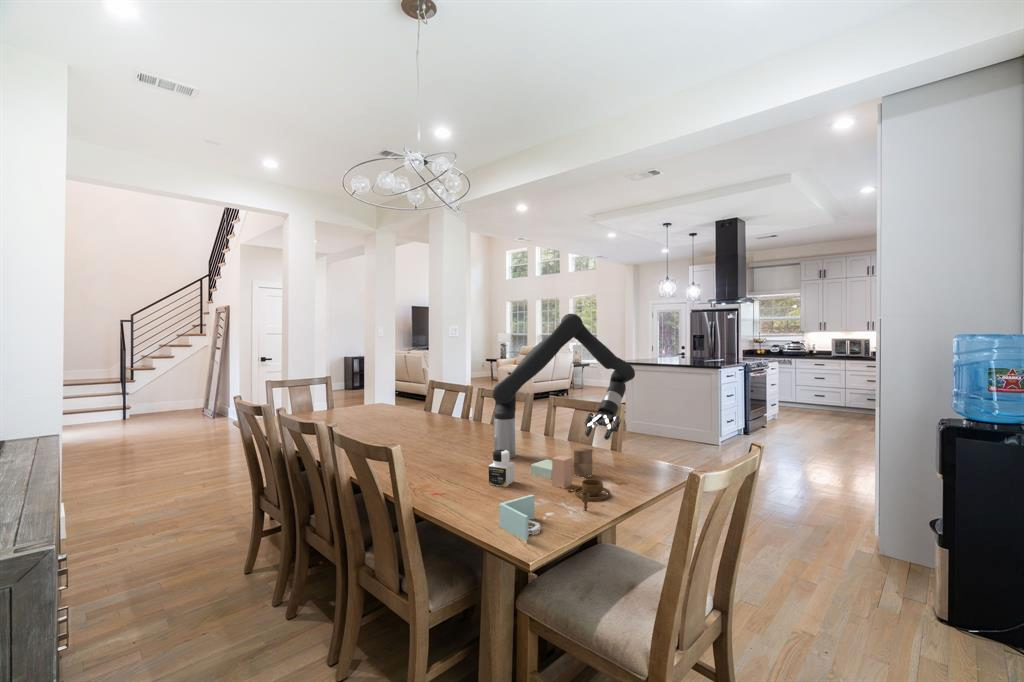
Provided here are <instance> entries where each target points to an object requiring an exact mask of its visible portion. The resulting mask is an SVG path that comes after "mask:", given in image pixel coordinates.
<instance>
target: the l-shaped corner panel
mask: <svg viewBox="0 0 1024 682" xmlns="http://www.w3.org/2000/svg"><path fill="white" fill-rule="evenodd" d="M535 505H536V504H535V494H528V495H526V496H522V497H518V498H515V499H511V500H507V501H504V502H501V503H499V509H498V511H499V512H498V513H499V514H498V515H499V519H498V520H499V528H500V527H502V528H503V529H505V530H507V531H508V532H510V533H512V534H514V535H516V536H518V537H519V538H521V539H523V540H525V541H527V540H528V541H529V535H528V534H529V533H531V534H535V533H537V532H539V531H541V529H542V526H541V524H540V523H539V522H536V521H533V519H532V518H535V519H536V517H535V515H536V513H535V512H536V511H535ZM529 519H532V520H529ZM528 526H532V527H533V528H528ZM539 533H540V532H539ZM535 535H536V534H535Z"/></svg>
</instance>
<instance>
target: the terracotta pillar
mask: <svg viewBox="0 0 1024 682" xmlns="http://www.w3.org/2000/svg"><path fill="white" fill-rule="evenodd" d="M572 459H573V458H572V457H570V456H565V455H561V454H560V455H557V456H554V457H552V459H551V460H552V479H551V480H552V487H555V486H557V487H556V488H559V487H561V488H560V489H563V488H565V489H566V487H567V488H569V487H571V486H572V485H573V474H572V473H573V469H572V468H573V467H572V466H573V465H572V462H573V460H572ZM570 485H571V486H570ZM568 486H569V487H568Z"/></svg>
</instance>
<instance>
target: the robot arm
mask: <svg viewBox="0 0 1024 682" xmlns="http://www.w3.org/2000/svg"><path fill="white" fill-rule="evenodd" d="M583 322H584V321H583V320H582V317H580V316H579V315H577V314H575V313H568V314H565V315H564V316H563V317H562V318H561V321H560V323H559V324H558V325H557V327H556V328H555V329H554V331H552V332H551V334H550V335H548V336H547V337H546V338H545V339H543V340H541V341H540V342H538V343H537V344H536V345H535V346H534V347H533V348H532V349H530V351H529V352H527V354H526V355H525V356H524V357H523V358H522V359H521V360H520V362H519V363H518V364H517V366H516V367H515V368H514V369H513V370H512V372H510V374H508V375H507V376H506V377H505V378H504V379H502V381H500V382H499V383H497V384H496V385H495V386H494V388H493V389H492V398H493V400H494V402H495V403H494V405H495V408H494V413H493V420H494V423H493V424H494V429H493V430H494V435H493V436H494V437H493V438H494V439H493V443H494V444H493V446H494V447H493V449H494V451H496V450H507V451H509V459H513V457H514V458H515V457H516V454H517V453H516V451H517V450H516V410H517V409H516V407H517V406H516V404H517V401H516V400H517V398H516V397H517V396H516V395H517V392H518V391H519V390H521V388H522V387H523V386H524V385H525V384H526V383H527V382H528V381H530V380H531V379H532V378H534V377H535V376H536V375H537V374H539V373H540V372H541V371H543V369H544V368H545V367H546V366H547V365H548V364H549V363H550V362H551V361H552V360H553V359H554V358H555V357H556V355H557V354H558V353H559V352H560V350H561V349H562V348H563V347H564V346H565V345H566V344H567V343H568V342H570V341H572V339H573V338H574V339H575V340H576V341H577V342H579V343H580V344H581V345H582V346H583V347H584V348H585V349H586V350H587V351H588V352H589V354H590V355H591V356H592V357H593V358H594V359H595V360H596V361H597V362H598V363H599V364H600V365H601V366H602V367H603V368H605V369H607V370H613V371H612V373H611V375H610V379H609V380H610V381H609V385H608V387H607V390H606V393H605V394H604V396H603V398H602V400H601V402H600V404H599V407H598V408H597V411H596V413H595V414H594V413H593V412H589V414H588V416H587V417H586V419H585V421H584V425H585V427H586V430H585V432H584V433H585V435H586V437H588V438H589V437H590V435H591V433H592V431H593V429H594V428H597V427H598V426H599V427H601V426H602V427H607V429H606V431H605V434H604V435H603V437H604V440H606V441H607V440H609V439H610V438H611V435H612V433H613V432H618V431H619V428H620V425H621V422H622V419H621V417H620V415H617V414H618V412H619V409H620V406H621V404H622V400H623V398H624V395H625V393H626V386H625V384H626V383H627V382H629V381H631V380H633V379H634V378H635V376H636V371H635V369H634V368H633V366H632V365H631V364H629V362H627V361H625V360H623V359H622V358H620V357H617V356H616V354H614V352H612V351H611V350H610V348H609V347H608V346H606V345H605V344H603V343H602V342H601V341H600V340H599V339H598V338H597V337H595V335H593V334H592V333H591V332H590V331H589V330H588V328H587V327H586V326H585V324H584V323H583ZM612 423H613V425H612ZM494 451H493V452H494Z"/></svg>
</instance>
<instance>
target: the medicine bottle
mask: <svg viewBox="0 0 1024 682" xmlns="http://www.w3.org/2000/svg"><path fill="white" fill-rule="evenodd" d="M510 459H511V458H509V451H507V450H496V451H493V452H492V463H490V464H489V465H488V485H490V486H495V485H496V486H497V487H502V486H503V487H504V488H507V487H508V486H510V485H511V484H512V483H513V482H515V463H514V462H511V461H510ZM509 484H510V485H509ZM496 486H495V487H496Z"/></svg>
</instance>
